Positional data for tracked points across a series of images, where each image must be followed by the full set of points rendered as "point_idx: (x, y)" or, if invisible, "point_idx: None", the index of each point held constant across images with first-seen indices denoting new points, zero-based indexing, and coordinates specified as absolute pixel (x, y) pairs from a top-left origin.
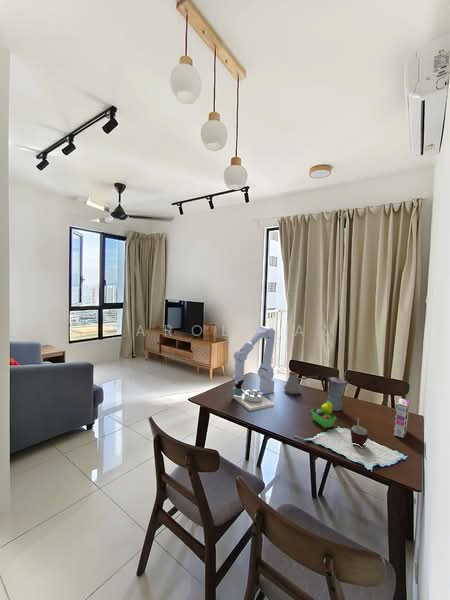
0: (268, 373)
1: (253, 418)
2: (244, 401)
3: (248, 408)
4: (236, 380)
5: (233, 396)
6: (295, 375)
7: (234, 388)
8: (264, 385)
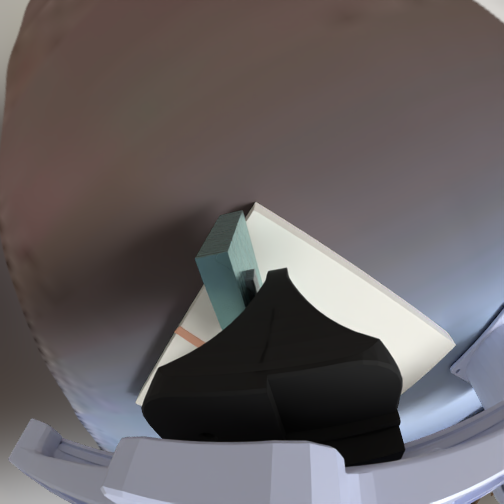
0: (498, 501)
1: (101, 406)
2: None
3: (142, 389)
4: (42, 485)
5: (254, 206)
6: (491, 495)
7: (206, 284)
8: (488, 405)
